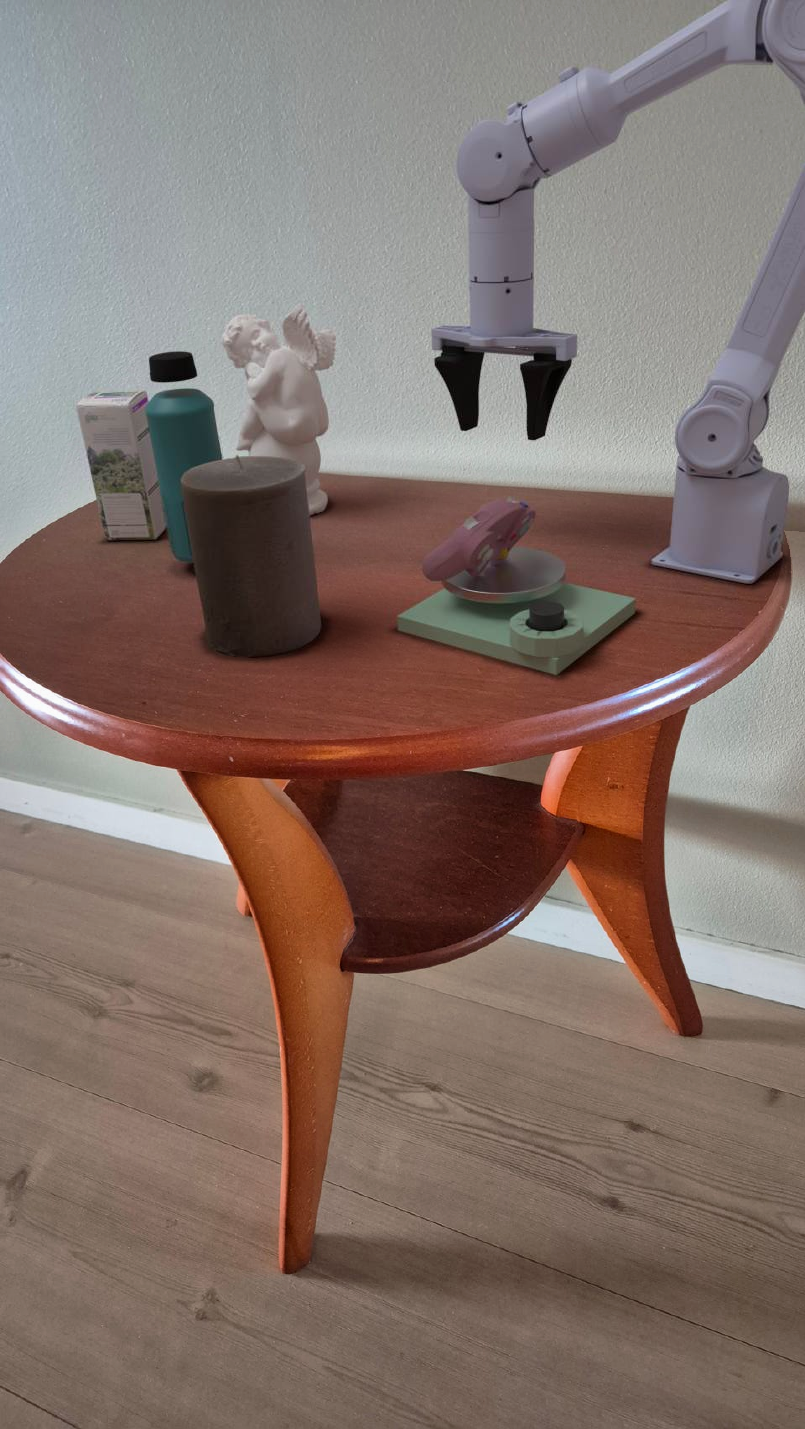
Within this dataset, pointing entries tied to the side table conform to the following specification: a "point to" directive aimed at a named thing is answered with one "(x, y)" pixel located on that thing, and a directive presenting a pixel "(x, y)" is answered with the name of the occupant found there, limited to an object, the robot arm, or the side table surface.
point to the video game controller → (480, 540)
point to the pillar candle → (253, 554)
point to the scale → (520, 625)
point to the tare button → (546, 616)
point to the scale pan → (511, 578)
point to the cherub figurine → (283, 391)
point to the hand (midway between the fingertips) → (502, 433)
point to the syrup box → (122, 464)
